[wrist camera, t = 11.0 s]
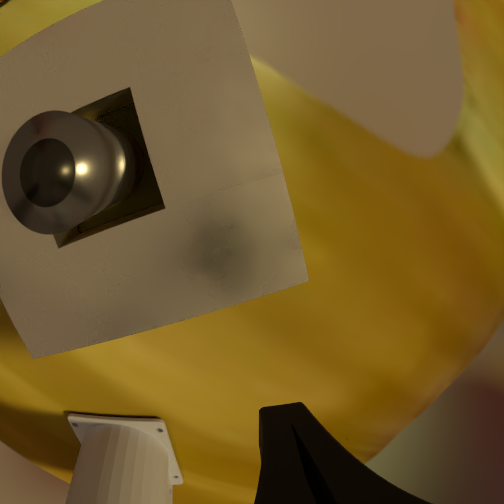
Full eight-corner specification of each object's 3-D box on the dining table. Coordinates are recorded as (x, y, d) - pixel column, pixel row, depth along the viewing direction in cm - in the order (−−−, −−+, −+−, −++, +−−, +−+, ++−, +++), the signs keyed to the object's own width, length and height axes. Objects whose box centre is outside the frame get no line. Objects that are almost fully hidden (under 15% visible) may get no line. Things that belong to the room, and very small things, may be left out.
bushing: (145, 201, 15) (105, 231, 9) (77, 206, 15) (7, 238, 8) (143, 124, 14) (101, 100, 8) (74, 133, 14) (0, 123, 7)
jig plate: (292, 261, 18) (309, 280, 15) (51, 333, 17) (33, 358, 14) (215, -6, 13) (219, -33, 10) (-24, 103, 12) (-52, 99, 9)
